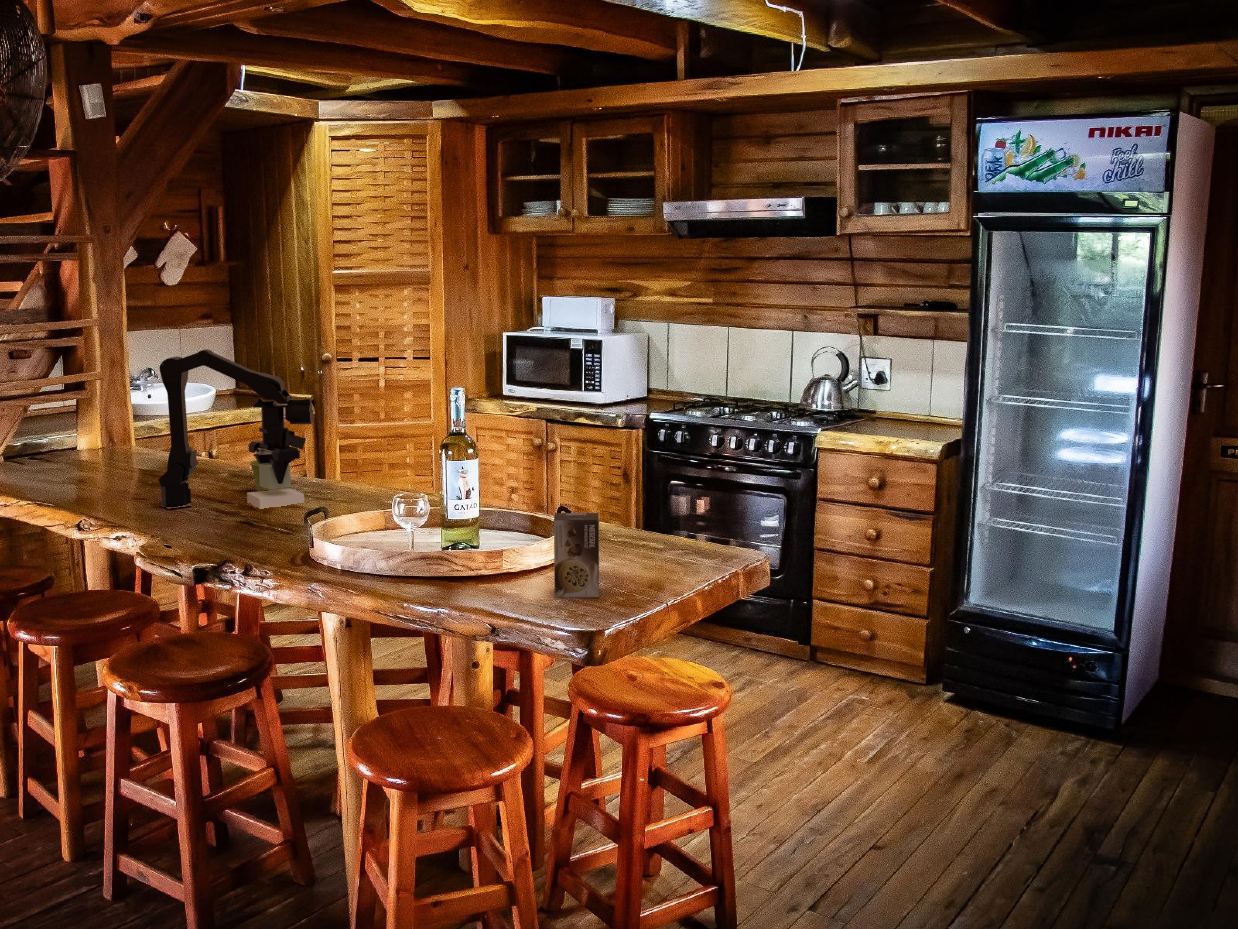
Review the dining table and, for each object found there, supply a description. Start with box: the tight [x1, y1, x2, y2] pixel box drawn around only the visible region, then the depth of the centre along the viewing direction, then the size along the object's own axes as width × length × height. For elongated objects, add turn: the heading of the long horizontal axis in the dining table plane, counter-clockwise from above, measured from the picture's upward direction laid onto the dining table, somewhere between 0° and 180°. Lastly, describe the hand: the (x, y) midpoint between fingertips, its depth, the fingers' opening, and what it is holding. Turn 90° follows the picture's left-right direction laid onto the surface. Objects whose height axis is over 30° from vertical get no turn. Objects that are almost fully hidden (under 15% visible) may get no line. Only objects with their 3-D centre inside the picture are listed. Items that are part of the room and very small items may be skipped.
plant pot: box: [249, 460, 278, 490], centre depth 337 cm, size 9×9×9 cm
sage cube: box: [259, 463, 292, 489], centre depth 318 cm, size 6×6×6 cm
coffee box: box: [553, 512, 600, 599], centre depth 239 cm, size 9×6×16 cm
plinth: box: [246, 487, 305, 509], centre depth 319 cm, size 12×10×4 cm
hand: (274, 482), depth 318 cm, fingers closed on sage cube, 6 cm apart
